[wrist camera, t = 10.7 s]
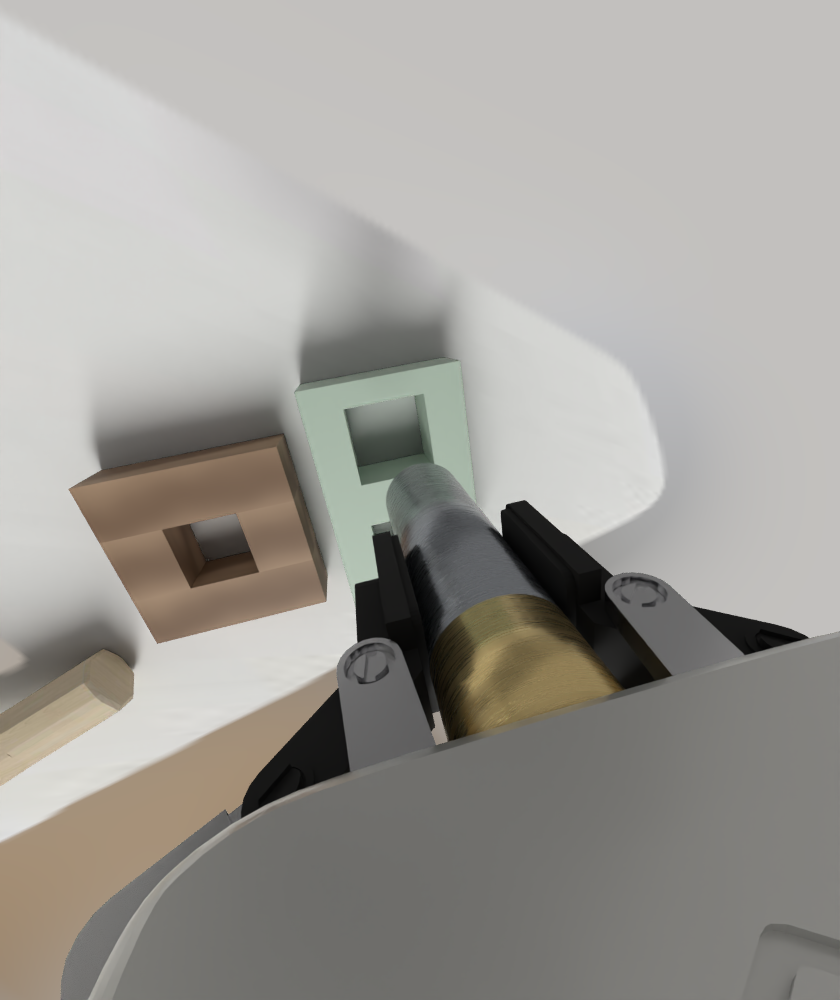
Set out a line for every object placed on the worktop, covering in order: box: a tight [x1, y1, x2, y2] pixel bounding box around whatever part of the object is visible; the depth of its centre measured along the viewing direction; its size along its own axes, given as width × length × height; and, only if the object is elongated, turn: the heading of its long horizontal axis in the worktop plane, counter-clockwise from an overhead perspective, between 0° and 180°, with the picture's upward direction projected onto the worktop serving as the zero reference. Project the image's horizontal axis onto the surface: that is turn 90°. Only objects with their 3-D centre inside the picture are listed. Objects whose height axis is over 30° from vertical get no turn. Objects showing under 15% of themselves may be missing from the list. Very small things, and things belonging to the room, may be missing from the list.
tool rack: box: [294, 357, 476, 607], centre depth 28 cm, size 16×10×4 cm, turn 9°
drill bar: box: [386, 463, 625, 742], centre depth 11 cm, size 3×3×12 cm
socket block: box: [69, 434, 328, 644], centre depth 28 cm, size 12×12×4 cm
